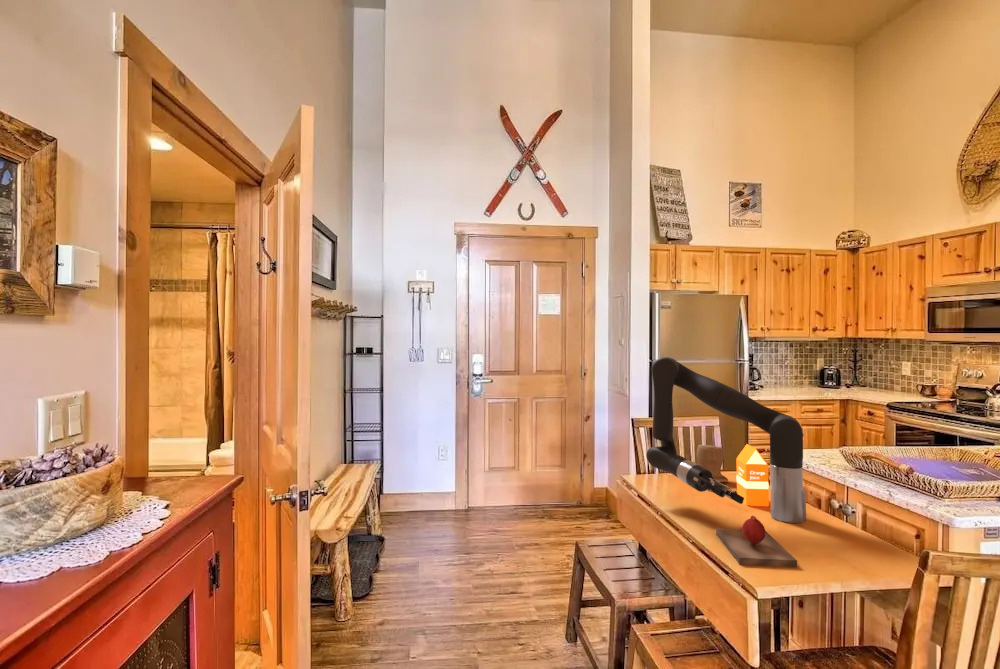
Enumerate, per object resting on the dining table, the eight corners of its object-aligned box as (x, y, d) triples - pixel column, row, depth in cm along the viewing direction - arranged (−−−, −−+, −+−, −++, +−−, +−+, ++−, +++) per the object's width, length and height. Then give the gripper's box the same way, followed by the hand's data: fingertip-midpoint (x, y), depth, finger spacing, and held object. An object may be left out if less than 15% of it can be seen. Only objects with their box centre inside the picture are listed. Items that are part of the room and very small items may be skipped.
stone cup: (721, 477, 208) (720, 442, 209) (731, 485, 197) (730, 448, 197) (684, 476, 210) (684, 441, 210) (692, 484, 198) (691, 447, 199)
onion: (745, 538, 139) (744, 510, 139) (767, 543, 135) (767, 514, 136) (739, 545, 135) (739, 515, 135) (763, 550, 131) (762, 520, 131)
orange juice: (758, 498, 180) (757, 443, 181) (769, 506, 172) (768, 449, 172) (736, 497, 181) (735, 443, 182) (745, 505, 172) (745, 448, 173)
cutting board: (765, 536, 145) (765, 530, 145) (797, 567, 125) (797, 560, 125) (716, 534, 147) (715, 528, 147) (739, 564, 127) (739, 557, 127)
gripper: (683, 459, 160) (722, 480, 145) (713, 470, 165) (753, 491, 151) (674, 480, 160) (712, 503, 145) (704, 490, 165) (743, 514, 151)
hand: (733, 497), depth 148 cm, fingers open, 8 cm apart
